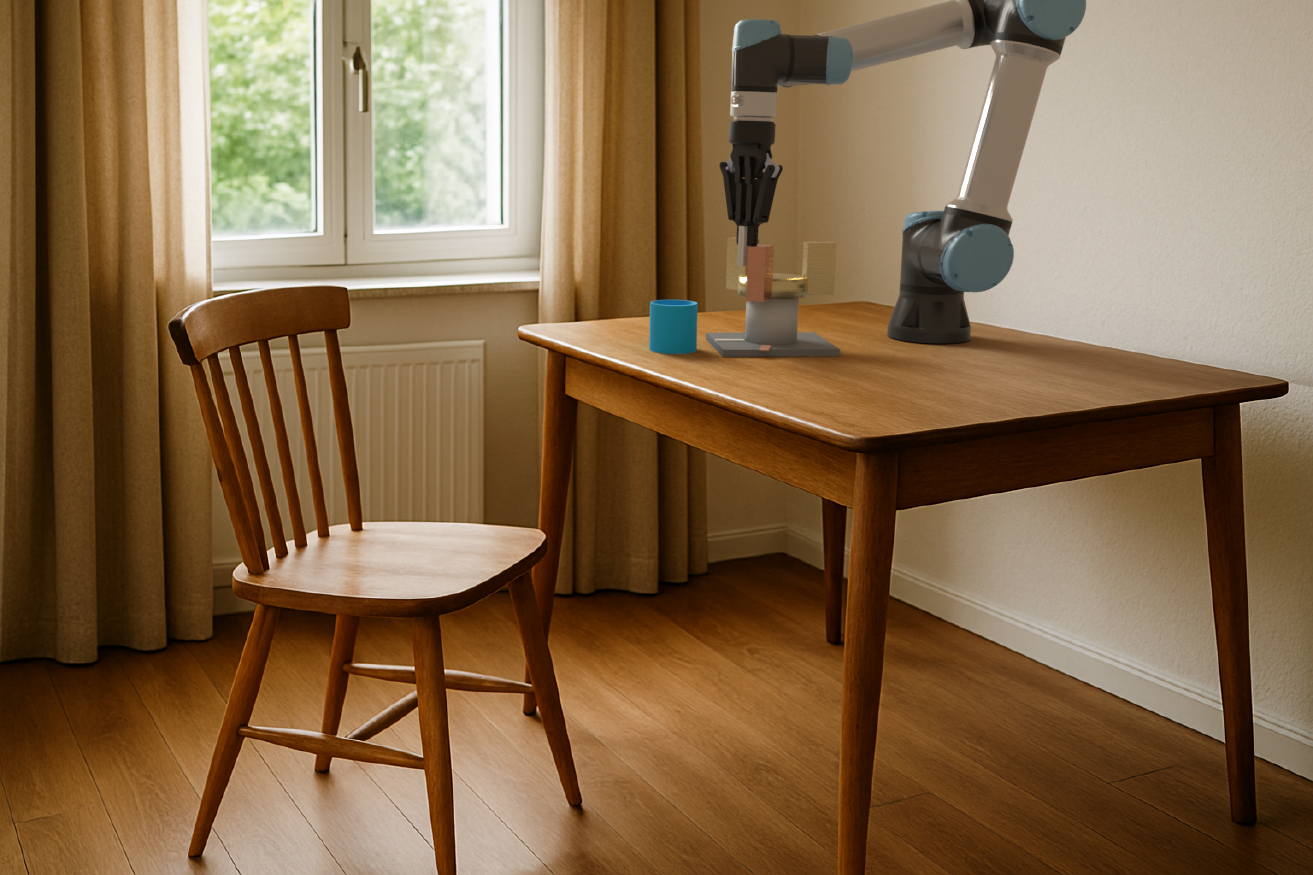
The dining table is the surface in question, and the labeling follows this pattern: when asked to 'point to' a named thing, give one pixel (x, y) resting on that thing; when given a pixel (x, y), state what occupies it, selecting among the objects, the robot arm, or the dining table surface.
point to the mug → (673, 326)
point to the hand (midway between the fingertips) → (745, 265)
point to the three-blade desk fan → (767, 285)
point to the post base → (777, 350)
